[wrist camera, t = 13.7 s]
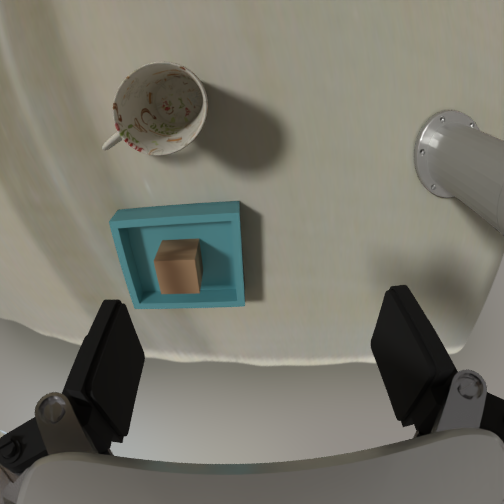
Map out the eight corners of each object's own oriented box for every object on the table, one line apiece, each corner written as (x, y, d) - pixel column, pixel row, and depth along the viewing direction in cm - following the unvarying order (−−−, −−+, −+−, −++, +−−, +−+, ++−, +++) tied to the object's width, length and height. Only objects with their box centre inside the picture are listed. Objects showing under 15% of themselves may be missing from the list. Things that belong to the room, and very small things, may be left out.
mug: (230, 110, 33) (226, 122, 24) (142, 167, 36) (113, 197, 27) (191, 51, 29) (173, 42, 20) (105, 114, 32) (64, 130, 23)
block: (199, 238, 40) (194, 259, 36) (203, 270, 43) (199, 293, 39) (162, 240, 40) (153, 261, 36) (168, 271, 43) (161, 294, 38)
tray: (239, 200, 38) (239, 212, 36) (244, 290, 46) (244, 306, 43) (118, 209, 38) (109, 221, 35) (140, 293, 46) (134, 308, 43)
